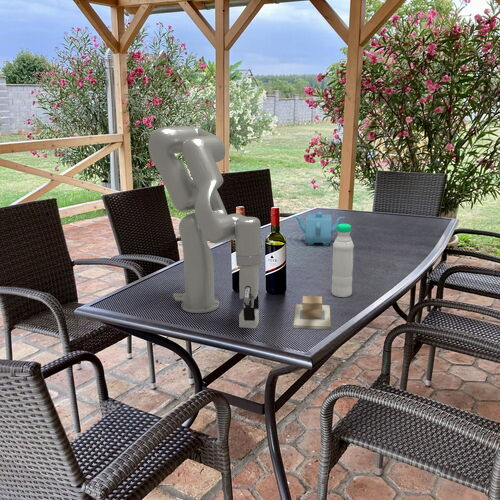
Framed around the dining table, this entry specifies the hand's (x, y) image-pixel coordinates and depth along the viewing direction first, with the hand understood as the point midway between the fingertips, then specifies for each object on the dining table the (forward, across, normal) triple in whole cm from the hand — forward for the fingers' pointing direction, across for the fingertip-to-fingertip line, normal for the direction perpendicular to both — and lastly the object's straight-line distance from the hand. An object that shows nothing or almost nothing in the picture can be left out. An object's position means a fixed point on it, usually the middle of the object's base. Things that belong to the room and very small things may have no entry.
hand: (251, 314), depth 157 cm
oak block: (+3, -8, +18) cm, 20 cm away
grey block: (+4, -1, -1) cm, 4 cm away
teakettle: (+2, -102, +20) cm, 104 cm away
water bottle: (+4, -30, +28) cm, 41 cm away
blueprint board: (+4, -8, +18) cm, 20 cm away
